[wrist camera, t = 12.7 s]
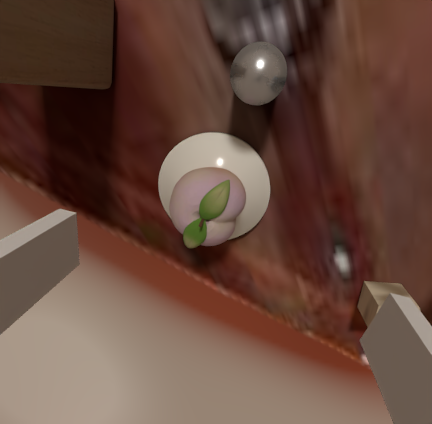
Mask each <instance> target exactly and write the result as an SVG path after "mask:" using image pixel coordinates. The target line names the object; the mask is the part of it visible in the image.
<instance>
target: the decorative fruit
mask: <svg viewBox="0 0 432 424" xmlns="http://www.w3.org/2000/svg"><path fill="white" fill-rule="evenodd" d="M245 204H246V192H245V188H244V186H243V184H242V182H241V180H240V179H239V178H238V177H237V176H236V175H235V174H234V173H232V172H231V171H229V170H226V169H223V168H217V167H204V168H198V169H194V170H192V171H189V172H188V173H186V174H185V175H183V176H182V177H181V178H180V180H179V181H178V182H177V183H176V185H175V186H174V189H173V192H172V195H171V199H170V205H169V210H170V216H171V219H172V222H173V224H174V226H175V227H176V229H177V230H178V231H179V232H180V233H182V234H183V241H184V243H185V245H186V246H187V247H188V248H195V247H197V246H199V245H203V246H215V245H219V244H221V243H223V242H225V241H226V240H228V239H229V238H230V236H231V235H232V234H233V232H234V230H235V225H236V217H237V216H239V214H240V213H241V212H242V211H243V209H244V207H245Z"/></svg>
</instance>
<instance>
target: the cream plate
mask: <svg viewBox="0 0 432 424" xmlns="http://www.w3.org/2000/svg"><path fill="white" fill-rule="evenodd" d="M204 167H217V168H223V169H226V170H229V171H231V172H232V173H234V174H235V175H236V176H237V177H238V178H239V179H240V180H241V182H242V184H243V186H244V188H245V192H246V204H245V207H244V209H243V211H242V212H241V213H240V214H239V216H237V217H236V225H235V230H234V232H233V234H232V235H231V236H230V238H229V239H233V238H236V237H238V236H241V235H243V234H245V233H246V232H248V231H249V230H251V229H252V228H253V227H254V226H255V225H256V224H257V223H258V222H259V221H260V219H261V218H262V216H263V215H264V213H265V211H266V209H267V206H268V202H269V198H270V182H269V176H268V172H267V169H266V166H265V164H264V162H263V160H262V159H261V157H260V155H259V154H258V153H257V152H256V151H255V149H254V148H252V147H251V146H250V145H249V144H248V143H246V142H245V141H243V140H242V139H240V138H238V137H236V136H233V135H230V134H227V133H222V132H204V133H200V134H196V135H194V136H191V137H189V138H187V139H186V140H184V141H182V142H180V143H179V144H178V145H177V146H175V147H174V148H173V149H172V150H171V151H170V153H169V154H168V155H167V157H166V158H165V160H164V162H163V164H162V167H161V170H160V174H159V182H158V186H159V194H160V199H161V202H162V205H163V207H164V209H165V211H166V212H167V214H168V215H169V217H170V218H171V216H170V210H169V205H170V199H171V195H172V192H173V189H174V186H175V185H176V183H177V182H178V181H179V180H180V178H181V177H182V176H183V175H185V174H186V173H188V172H189V171H192V170H194V169H198V168H204ZM229 239H228V240H229Z"/></svg>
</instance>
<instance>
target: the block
mask: <svg viewBox="0 0 432 424" xmlns="http://www.w3.org/2000/svg"><path fill="white" fill-rule="evenodd" d="M113 24H114V0H0V83H13V84H28V85H44V86H59V87H74V88H89V89H107V88H109V87H110V86H111V83H112V58H113Z"/></svg>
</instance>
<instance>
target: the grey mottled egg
mask: <svg viewBox="0 0 432 424" xmlns="http://www.w3.org/2000/svg"><path fill="white" fill-rule="evenodd" d="M286 77H287V65H286V61H285V58H284V56H283V54H282V53H281V51H280V50H279V49H278V48H277V47H275V46H274V45H272V44H270V43H267V42H255V43H251V44H249V45H247V46H246V47H244V48H243V49H242V50H241V51H240V52H239V53H238V54H237V56H236V57H235V59H234V61H233V64H232V67H231V72H230V80H231V85H232V88H233V90H234V92H235V94H236V95H237V96H238V98H239V99H241V100H242V101H243V102H245V103H247V104H250V105H263V104H266V103H268V102H270V101H272V100H273V99H274V98H275V97H277V96H278V94H279V93H280V92H281V90H282V89H283V87H284V84H285V81H286Z"/></svg>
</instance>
